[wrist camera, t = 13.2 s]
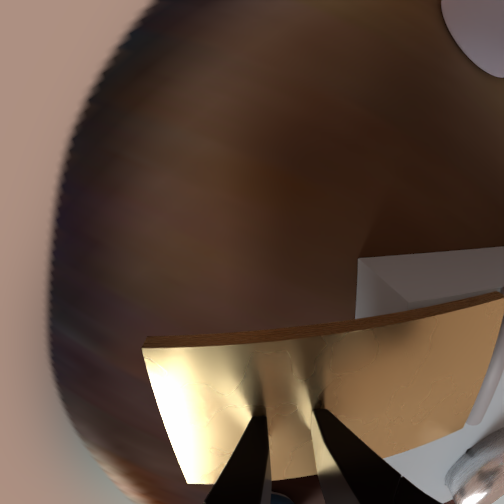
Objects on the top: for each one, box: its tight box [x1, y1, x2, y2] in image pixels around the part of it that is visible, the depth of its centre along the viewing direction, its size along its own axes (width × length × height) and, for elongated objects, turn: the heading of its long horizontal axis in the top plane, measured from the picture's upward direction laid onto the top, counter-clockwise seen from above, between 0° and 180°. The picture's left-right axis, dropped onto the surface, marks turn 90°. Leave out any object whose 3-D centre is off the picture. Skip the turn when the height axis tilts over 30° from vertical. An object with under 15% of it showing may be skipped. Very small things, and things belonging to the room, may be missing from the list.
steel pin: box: [444, 428, 504, 504], centre depth 12 cm, size 5×5×8 cm
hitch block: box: [355, 246, 504, 504], centre depth 12 cm, size 17×12×6 cm
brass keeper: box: [142, 291, 504, 484], centre depth 8 cm, size 6×11×1 cm, turn 94°
